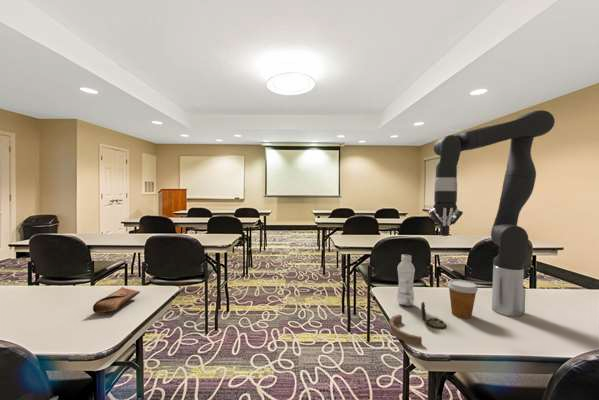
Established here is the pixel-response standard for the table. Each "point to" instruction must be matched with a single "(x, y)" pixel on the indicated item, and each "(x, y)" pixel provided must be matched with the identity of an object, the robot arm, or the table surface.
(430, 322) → the compass
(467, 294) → the disposable coffee cup
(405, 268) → the plastic bottle
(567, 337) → the table surface
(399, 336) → the brown segmented arc
